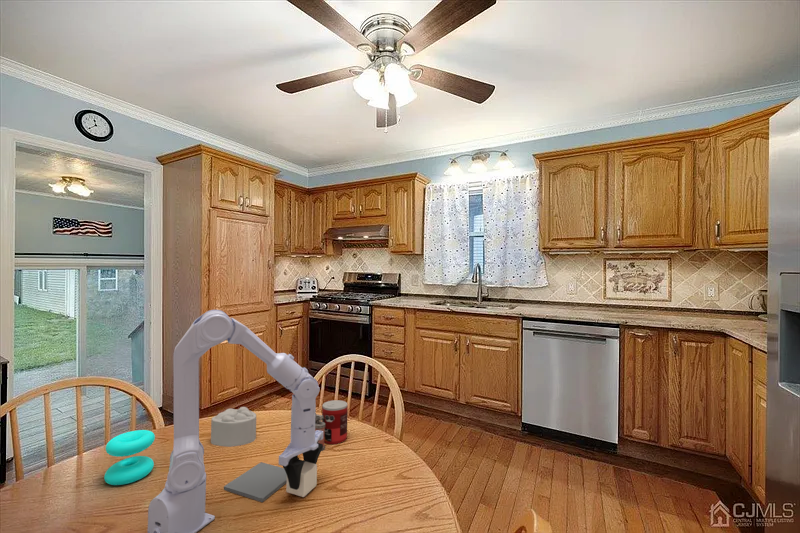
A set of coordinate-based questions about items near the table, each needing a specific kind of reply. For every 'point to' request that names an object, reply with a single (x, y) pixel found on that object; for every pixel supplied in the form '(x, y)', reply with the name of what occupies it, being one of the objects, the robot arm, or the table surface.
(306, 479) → the cube
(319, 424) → the lighter
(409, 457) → the table surface
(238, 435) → the lumpy-topped squat cylinder
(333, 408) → the canned food
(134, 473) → the donuts
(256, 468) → the grey square plate
